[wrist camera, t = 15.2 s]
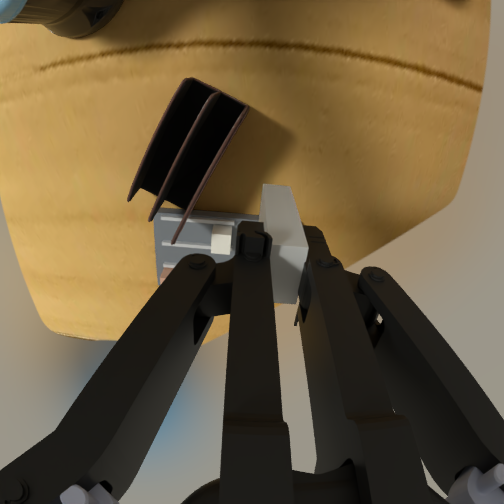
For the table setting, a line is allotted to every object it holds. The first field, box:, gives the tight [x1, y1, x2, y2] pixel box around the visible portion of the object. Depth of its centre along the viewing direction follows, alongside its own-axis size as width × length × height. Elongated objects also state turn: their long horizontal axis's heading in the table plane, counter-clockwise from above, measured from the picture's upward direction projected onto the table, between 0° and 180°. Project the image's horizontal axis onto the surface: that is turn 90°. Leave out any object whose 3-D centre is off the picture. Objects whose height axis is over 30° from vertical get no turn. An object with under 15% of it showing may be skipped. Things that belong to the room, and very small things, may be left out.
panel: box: [154, 208, 259, 285], centre depth 55 cm, size 24×15×4 cm, turn 84°
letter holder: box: [127, 78, 250, 245], centre depth 42 cm, size 10×20×14 cm, turn 150°
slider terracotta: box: [160, 267, 173, 284], centre depth 56 cm, size 3×4×3 cm
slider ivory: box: [211, 225, 232, 255], centre depth 52 cm, size 3×4×3 cm
